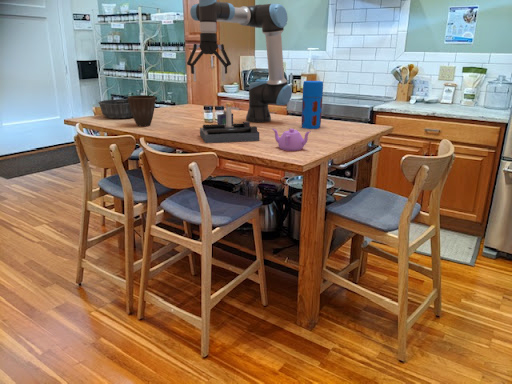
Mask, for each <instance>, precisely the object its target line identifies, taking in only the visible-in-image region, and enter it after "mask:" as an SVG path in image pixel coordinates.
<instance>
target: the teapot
mask: <svg viewBox="0 0 512 384" xmlns="http://www.w3.org/2000/svg"><path fill="white" fill-rule="evenodd" d="M272 130H273V133H274V139H275V142H276V143H277V145H278V148H280V150H283V151H285V152H286V151H287V152H297V151H301V150H302V149H303V148H305V146H306V144H307V143H308V139H309V134H310V133H311V130H310V131H306V132H305V134H304V138H303V136H302V134H301V132H300V131H299V130H297V129H294V128H289V129H288V130H284V131H283V133H282V134H281V136H279V132H278V130H277V129H275V128H272Z"/></svg>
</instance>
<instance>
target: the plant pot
mask: <svg viewBox="0 0 512 384" xmlns="http://www.w3.org/2000/svg"><path fill="white" fill-rule="evenodd" d="M156 98H157V97H156V95H155V96H154V95H145V94H143V95H138V94H137V95H129V96H127V99H128V101H129V105H130V109H131V112H132V115H133V117H132V118H133V120H134V122H135V124H136V126H137V127H149V126H150V127H151V124H152V121H153V118H154V113H155V108H156V107H155V106H156Z"/></svg>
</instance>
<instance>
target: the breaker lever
mask: <svg viewBox="0 0 512 384" xmlns="http://www.w3.org/2000/svg"><path fill="white" fill-rule="evenodd" d="M232 105H233V104H232V103H230V102H225V110H226V126H232V117H231V113H232V107H233V106H232Z"/></svg>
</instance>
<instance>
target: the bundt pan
mask: <svg viewBox="0 0 512 384" xmlns="http://www.w3.org/2000/svg"><path fill="white" fill-rule="evenodd" d="M97 104H98V105H99V107H100V111H101V113H102V115H103V116H104V117H106V118H108V119H117V120H120V119H126V118H127V119H130V118H133V115H132V112H131V109H130V105H129V101H128V98H118V99H117V98H116V99H107V100H106V99H105V100H100V101H98V102H97Z"/></svg>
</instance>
